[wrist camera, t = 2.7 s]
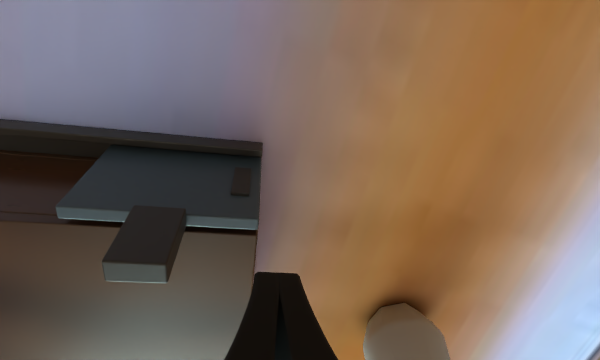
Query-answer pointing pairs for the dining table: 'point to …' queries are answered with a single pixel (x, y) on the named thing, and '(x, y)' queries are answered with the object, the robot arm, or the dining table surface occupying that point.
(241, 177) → the door
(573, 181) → the dining table surface
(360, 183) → the dining table surface
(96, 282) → the cabinet
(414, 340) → the salt shaker
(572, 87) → the dining table surface
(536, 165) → the dining table surface
